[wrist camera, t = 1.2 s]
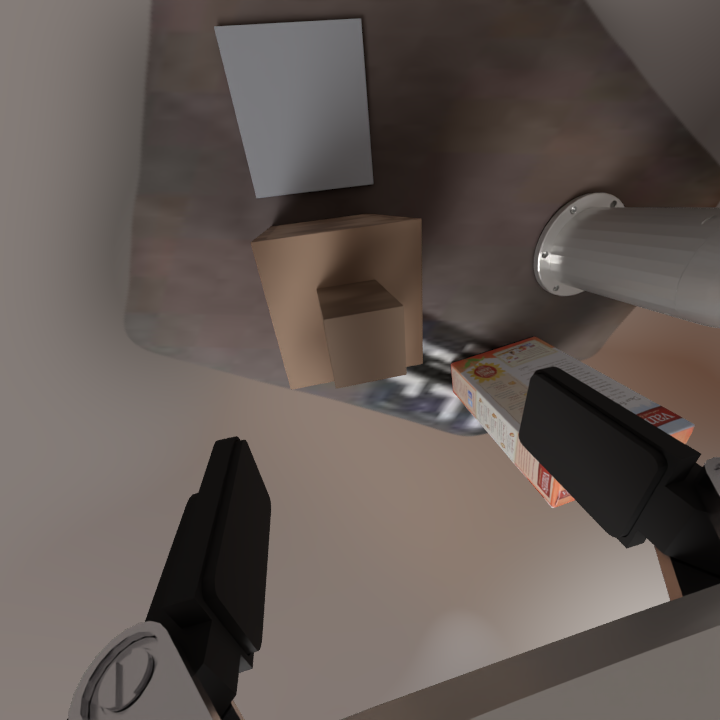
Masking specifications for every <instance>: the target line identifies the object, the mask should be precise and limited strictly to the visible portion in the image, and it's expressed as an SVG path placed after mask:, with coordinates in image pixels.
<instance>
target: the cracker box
mask: <svg viewBox="0 0 720 720" xmlns="http://www.w3.org/2000/svg"><path fill="white" fill-rule="evenodd" d="M552 366H554V367H558V368H560V369H562V370H563V371H565V372H567V373H568V374H570V375H572V376H573V377H575V378H577V379H578V380H580V381H581V382H583V383H585V384H586V385H588V386H590V387H591V388H593V389H595V390H596V391H598V392H600V393H601V394H603V395H605V396H606V397H608V398H610V399H611V400H613V401H615V402H616V403H618V404H620V405H621V406H623V407H624V408H626V409H628V410H629V411H631V412H633V413H634V414H636V415H638V416H639V417H641V418H643V419H644V420H646V421H648V422H649V423H651V424H653V425H654V426H656V427H658V428H659V429H661V430H663V431H664V432H666V433H667V434H669V435H671V436H672V437H674V438H676V439H677V440H679V441H681V442H682V443H684V444H686V442H687V441H688V439H689V437H690V435H691V433H692V431H693V428H694V426H695V425H694V424H693V423H691V422H689V421H687V420H686V419H684V418H682V417H680V416H678V415H677V414H674V413H673V412H671V411H669V410H668V409H666V408H664V407H662V406H660V405H658V404H657V403H655V402H653V401H651V400H649V399H647V398H646V397H644V396H642V395H640V394H638V393H636V392H635V391H633V390H631V389H629V388H628V387H626V386H624V385H622V384H620V383H618V382H617V381H615V380H613V379H611V378H609V377H608V376H606V375H604V374H602V373H600V372H599V371H597V370H595V369H593V368H591V367H589V366H587V365H586V364H584V363H582V362H580V361H579V360H577V359H575V358H573V357H571V356H570V355H568V354H566V353H564V352H562V351H561V350H559V349H557V348H555V347H553V346H552V345H550V344H548V343H546V342H544V341H543V340H541V339H539V338H537V337H531V338H528V339H525V340H522V341H519V342H516V343H513V344H510V345H506V346H503V347H500V348H497V349H494V350H491V351H488V352H485V353H482V354H479V355H475V356H472V357H469V358H466V359H463V360H460V361H457V362H454V363H451V372H452V384H453V392H454V393H455V394H456V396H457V397H458V398H459V399H460V400H461V401H462V403H463V404H464V405H465V406H466V407H467V409H468V410H469V411H470V412H471V413H472V415H473V416H474V417H475V418H476V419H477V420H478V422H479V423H480V424H481V425H482V426H483V427H484V429H485V430H486V431H487V432H488V433H489V434H490V435H491V437H492V438H493V439H494V440H495V441H496V443H498V445H499V446H500V447H501V448H502V449H503V451H504V452H505V453H506V454H507V456H508V457H509V458H510V459H511V460H512V462H513V463H514V464H515V465H516V466H517V467H518V468H519V470H520V471H521V472H522V473H523V474H524V476H525V477H526V478H527V479H528V480H529V481H530V482H531V484H532V485H533V486H534V487H535V488H536V489H537V491H538V492H539V493H540V494H541V495H542V497H543V498H544V499H545V500H546V501H547V502H548V504H549V505H551V507H552V508H555V507H558V506H560V505H563V504H566V503H568V502H571V501H574V500H575V499H574V498H573V497H572V496H571V495H570V494H569V493H568V492H567V491H566V490H565V489H564V488H563V487H562V486H561V485H560V484H559V483H558V481H557V480H556V479H555V478H554V477H553V476H552V475H551V474H550V473H549V472H548V471H547V470H546V469H545V468H544V467H543V466H542V465H541V464H540V463H539V462H538V461H537V460H536V459H535V458H534V457H533V456H532V455H531V454H530V452H529V451H528V450H527V449H526V448H525V447H524V446H523V445H522V444H521V442H520V440H519V430H520V425H521V420H522V415H523V410H524V406H525V401H526V396H527V391H528V387H529V382H530V378H531V377H532V376H533V374H534V372H535V371H536V370H539V369H543V368H548V367H552Z"/></svg>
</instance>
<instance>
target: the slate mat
mask: <svg viewBox="0 0 720 720" xmlns="http://www.w3.org/2000/svg"><path fill="white" fill-rule="evenodd" d="M214 29H215V33H216V37H217V41H218V45H219V49H220V53H221V57H222V61H223V65H224V69H225V73H226V77H227V81H228V85H229V89H230V93H231V97H232V101H233V105H234V109H235V113H236V117H237V121H238V125H239V129H240V133H241V137H242V141H243V145H244V149H245V153H246V157H247V161H248V165H249V169H250V173H251V177H252V181H253V185H254V189H255V194H256V198H264V197H272V196H280V195H288V194H297V193H305V192H313V191H321V190H329V189H338V188H346V187H354V186H362V185H370V184H373V170H372V157H371V144H370V131H369V117H368V104H367V91H366V78H365V64H364V51H363V38H362V25H361V18H359V19H341V20H323V21H305V22H287V23H269V24H251V25H233V26H215V27H214Z"/></svg>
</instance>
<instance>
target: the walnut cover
mask: <svg viewBox="0 0 720 720" xmlns="http://www.w3.org/2000/svg"><path fill="white" fill-rule="evenodd" d="M251 246H252V250H253V253H254V257H255V261H256V264H257V268H258V272H259V275H260V279H261V282H262V286H263V290H264V293H265V297H266V301H267V304H268V308H269V311H270V315H271V319H272V322H273V326H274V330H275V333H276V337H277V340H278V344H279V348H280V351H281V355H282V359H283V362H284V366H285V369H286V373H287V377H288V380H289V384H290V388H291V390H292V389H297V388H302V387H307V386H312V385H317V384H322V383H327V382H332V381H335V385H336V388H341V387H346V386H351V385H356V384H361V383H366V382H371V381H376V380H381V379H386V378H391V377H396V376H401V375H406V367H408V366H413V365H418V364H423V347H422V219H418V218H409V217H399V216H389V215H379V214H369V213H368V214H360V215H353V216H345V217H338V218H330V219H323V220H315V221H308V222H300V223H293V224H285V225H278V226H271V227H270V228H269V229H267V230H266V231H265V232H263V233H262V234H261V235H260V236H258V237H257V238H256V239H254V240H253V241H252V242H251Z"/></svg>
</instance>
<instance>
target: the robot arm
mask: <svg viewBox="0 0 720 720" xmlns="http://www.w3.org/2000/svg"><path fill="white" fill-rule="evenodd" d="M534 273H535V277H536V279H537V282H538V283H539V285H540V286H541V287H542V288H543V289H544V290H546V291H547V292H550V293H552V294H555V295H559V296H571V295H575V294H578V293H581V292H583V291H588V292H591V293H595V294H598V295H601V296H605V297H608V298H611V299H615V300H618V301H622V302H625V303H628V304H632V305H635V306H639V307H642V308H645V309H649V310H652V311H656V312H659V313H662V314H666V315H670V316H673V317H676V318H680V319H683V320H687V321H690V322H694V323H697V324H701V325H705V326H709V327H715V328H720V208H639V207H624V205H623V203H622V202H621V201H620V200H619V199H618V198H617V197H615V196H614V195H612V194H608V193H589V194H585V195H582V196H579V197H577V198H575V199H573V200H572V201H570V202H568V203H567V204H566V205H564V206H563V207H562V208H561V209H560V210H559V211H558V212H557V213H556V214H555V215H554V216H553V217H552V218H551V220H550V221H549V222H548V224H547V225H546V227H545V228H544V230H543V232H542V234H541V236H540V238H539V241H538V243H537V246H536V250H535V254H534ZM519 440H520V442H521V444H522V445H523V446H524V447H525V448H526V449H527V450H528V451H529V452H530V454H531V455H532V456H533V457H534V458H535V459H536V460H537V461H538V462H539V463H540V464H541V465H542V466H543V467H544V468H545V469H546V470H547V471H548V472H549V473H550V474H551V475H552V476H553V477H554V478H555V479H556V480H557V481H558V483H559V484H560V485H561V486H562V487H563V488H564V489H565V490H566V491H567V492H568V493H569V494H570V495H571V496H572V497H573V498H574V499H575V500H576V501H577V502H578V503H579V504H580V505H581V506H582V507H583V508H584V509H585V510H586V512H587V513H589V515H590V516H591V517H593V519H594V520H595V521H596V522H597V523H598V524H599V525H600V526H601V527H602V528H603V529H604V530H605V531H606V532H607V533H608V534H609V535H611V536H612V537H615V538H617V539H618V540H619V541H620V542H621V543H622V544H623V545H624V546H625V547H626V548H629V547H632V546H636V545H639V544H642V543H644V541H645V540H646V538H647V539H648V540H649V541H650V542H652V544H654V547H655V550H656V554H657V557H658V560H659V564H660V567H661V571H662V574H663V577H664V581H665V584H666V588H667V591H668V594H669V598H670V601H669V602H666V603H663V604H661V605H658V606H655V607H652V608H649V609H646V610H644V611H640V612H638V613H635V614H632V615H629V616H626V617H623V618H620V619H618V620H615V621H612V622H609V623H606V624H603V625H601V626H598V627H595V628H592V629H589V630H587V631H584V632H581V633H578V634H575V635H572V636H570V637H567V638H564V639H561V640H559V641H556V642H553V643H550V644H548V645H544V646H542V647H539V648H536V649H534V650H531V651H528V652H525V653H522V654H519V655H516V656H514V657H511V658H508V659H505V660H502V661H499V662H497V663H494V664H491V665H488V666H486V667H483V668H480V669H477V670H475V671H472V672H469V673H466V674H463V675H461V676H458V677H455V678H453V679H450V680H447V681H444V682H441V683H438V684H436V685H433V686H430V687H428V688H425V689H422V690H419V691H416V692H414V693H411V694H408V695H406V696H403V697H400V698H397V699H394V700H392V701H389V702H386V703H383V704H380V705H378V706H375V707H372V708H370V709H367V710H364V711H362V712H359V713H357V714H354V715H351V716H349V717H346V718H344V719H341V720H720V457H716V458H712V459H709V460H707V461H706V463H705V464H704V466H703V467H701V466H700V465H698V464H697V463H696V461H697V460H698V458H699V457H700V455H701V454H700V453H699V452H697V451H696V450H694V449H692V448H691V447H689V446H687V445H686V444H684V443H682V442H681V441H679V440H677V439H676V438H674V437H672V436H671V435H669V434H667V433H666V432H664V431H663V430H661V429H659V428H658V427H656V426H654V425H653V424H651V423H649V422H648V421H646V420H644V419H643V418H641V417H639V416H638V415H636V414H634V413H633V412H631V411H629V410H628V409H626V408H624V407H623V406H621V405H620V404H618V403H616V402H615V401H613V400H611V399H610V398H608V397H606V396H605V395H603V394H601V393H600V392H598V391H596V390H595V389H593V388H591V387H590V386H588V385H586V384H585V383H583V382H581V381H580V380H578V379H577V378H575V377H573V376H572V375H570V374H568V373H567V372H565V371H563V370H562V369H560V368H558V367H554V366H552V367H548V368H543V369H539V370H536V371H535V372H534V374H533V376H532V377H531V378H530V382H529V387H528V391H527V396H526V401H525V406H524V410H523V415H522V420H521V425H520V430H519ZM270 517H271V501H270V497H269V495H268V492H267V490H266V487H265V485H264V482H263V480H262V477H261V475H260V473H259V470H258V468H257V465H256V463H255V461H254V458H253V455H252V453H251V451H250V448H249V446H248V443H247V442H246V440H241V441H240V439H239V438H238V437H237V436H236V437H231V438H227V439H222V440H218V441H216V442H215V444H214V447H213V450H212V453H211V456H210V459H209V462H208V465H207V468H206V471H205V475H204V477H203V481H202V483H201V487H200V490H199V493H196V494H193V495H192V496H191V497H190V498H189V500H188V502H187V505H186V507H185V510H184V513H183V516H182V519H181V521H180V524H179V527H178V530H177V533H176V535H175V538H174V541H173V544H172V547H171V550H170V552H169V556H168V558H167V561H166V564H165V567H164V569H163V572H162V575H161V578H160V581H159V583H158V586H157V589H156V592H155V595H154V598H153V600H152V604H151V606H150V609H149V612H148V614H147V618H146V620H145V622H142V623H138V624H136V625H134V626H132V627H130V628H128V629H126V630H125V631H123V632H122V633H121V634H119V635H118V636H117V637H115V638H114V639H113V640H111V641H110V642H109V643H108V644H107V645H106V646H105V648H104V649H103V650H102V651H101V652H100V653H99V654H98V655H97V656H96V657H95V659H94V660H93V662H92V663H91V664H90V666H89V667H88V669H87V670H86V672H85V673H84V675H83V677H82V678H81V680H80V683H79V684H78V686H77V689H76V690H75V692H74V695H73V698H72V702H71V706H70V709H69V713H68V716H69V717H68V719H67V720H245V719H244V718H243V716H242V714H241V713H240V711H239V709H238V707H237V706H236V704H235V702H234V701H233V699H234V697H235V696H236V692H237V683H238V675H239V673H240V672H243V671H246V670H250V669H252V668H253V656H254V652H256V651H259V650H260V647H261V643H262V631H263V618H264V604H265V589H266V575H267V561H268V545H269V532H270Z"/></svg>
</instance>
